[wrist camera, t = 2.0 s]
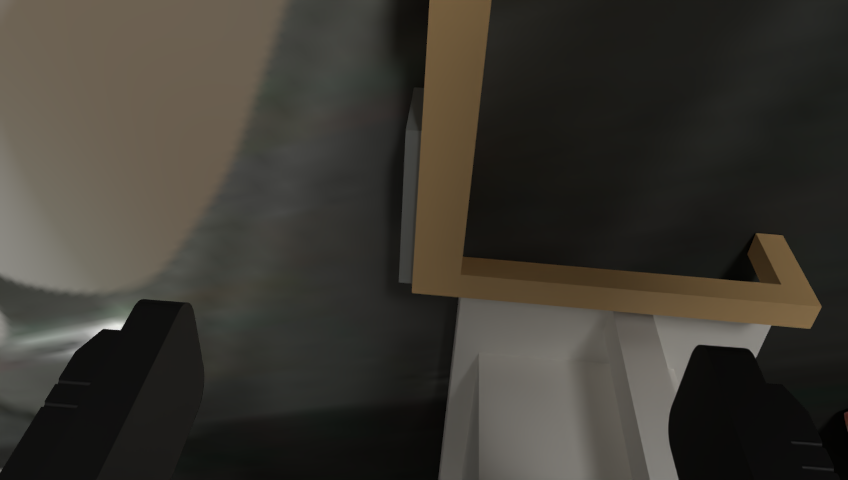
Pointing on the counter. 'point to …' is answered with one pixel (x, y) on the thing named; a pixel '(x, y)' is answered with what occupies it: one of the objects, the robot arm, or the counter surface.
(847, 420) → the cracker box
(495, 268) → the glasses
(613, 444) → the display stand
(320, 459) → the counter surface
